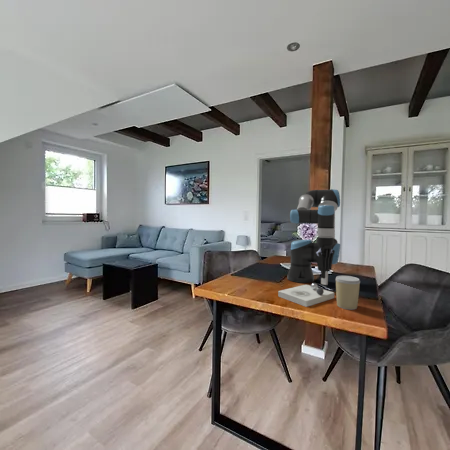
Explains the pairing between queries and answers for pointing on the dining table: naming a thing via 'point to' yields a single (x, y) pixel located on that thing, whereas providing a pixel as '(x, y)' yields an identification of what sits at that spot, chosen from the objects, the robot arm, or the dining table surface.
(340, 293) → the coffee cup
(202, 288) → the dining table surface
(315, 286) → the steel ball
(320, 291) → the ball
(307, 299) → the board
